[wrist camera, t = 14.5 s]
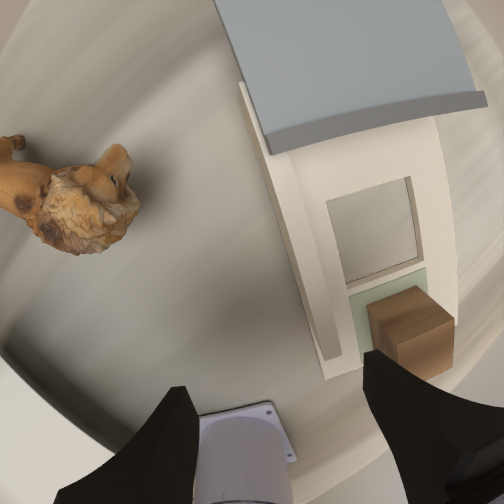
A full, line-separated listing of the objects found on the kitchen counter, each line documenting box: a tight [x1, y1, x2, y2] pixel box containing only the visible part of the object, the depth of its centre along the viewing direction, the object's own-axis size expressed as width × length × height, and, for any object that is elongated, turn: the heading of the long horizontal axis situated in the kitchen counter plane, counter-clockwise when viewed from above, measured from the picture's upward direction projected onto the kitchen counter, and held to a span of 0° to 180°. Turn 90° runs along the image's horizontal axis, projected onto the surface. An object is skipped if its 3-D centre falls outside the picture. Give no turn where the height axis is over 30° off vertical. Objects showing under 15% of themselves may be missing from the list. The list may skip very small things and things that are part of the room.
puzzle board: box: [238, 81, 458, 380], centre depth 17 cm, size 20×12×6 cm, turn 18°
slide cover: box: [213, 0, 488, 156], centre depth 10 cm, size 8×11×1 cm
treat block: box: [366, 285, 455, 381], centre depth 18 cm, size 4×4×5 cm
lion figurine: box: [0, 135, 140, 256], centre depth 13 cm, size 15×5×9 cm, turn 78°
